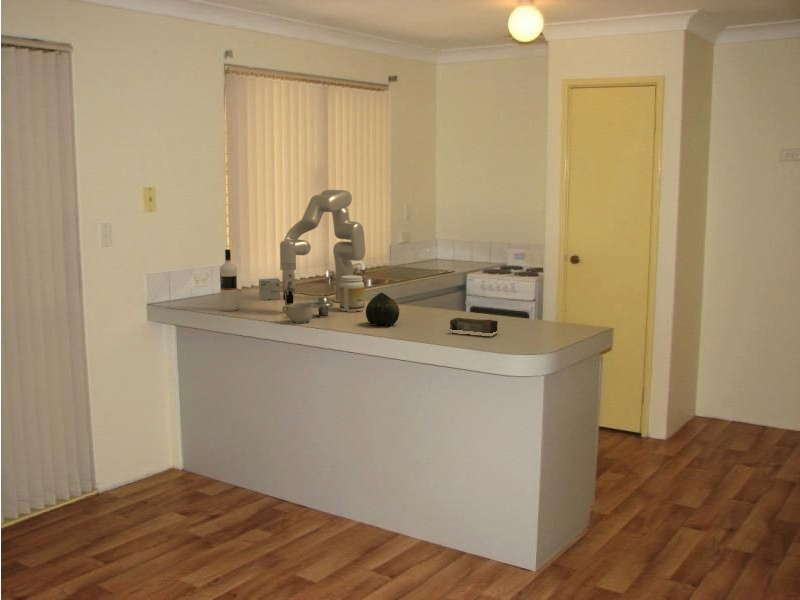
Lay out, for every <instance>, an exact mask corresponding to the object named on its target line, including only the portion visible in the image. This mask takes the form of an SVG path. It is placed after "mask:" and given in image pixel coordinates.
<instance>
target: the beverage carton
mask: <svg viewBox="0 0 800 600" xmlns="http://www.w3.org/2000/svg"><path fill="white" fill-rule="evenodd" d="M450 329H452V330H463V331H473V332H482V333H493V332H496V331H497V332H498V320H492V319H478V318H477V319H476V318H474V319H473V318H463V317H453V318H452V319H450V321H449V330H450Z"/></svg>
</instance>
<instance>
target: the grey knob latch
mask: <svg viewBox="0 0 800 600" xmlns="http://www.w3.org/2000/svg"><path fill="white" fill-rule="evenodd" d="M303 303H308V304H312V305H313V309H318V317H319V316H328V317H329V308H332V307H333V306H334V303H333V301H332V302H331V301H329V298H328V296H319V297H318V301H313V302H312V301H311V302H310V301H309V302H307V301H305V302H303Z"/></svg>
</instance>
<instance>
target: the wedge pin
mask: <svg viewBox="0 0 800 600" xmlns="http://www.w3.org/2000/svg"><path fill="white" fill-rule="evenodd" d="M295 290H296V289H295ZM295 290H294V289H293V294H295V293H296V291H295ZM283 293H285V301H284V306H285V305H288V306H289V305H291V304H294V302H293V303H287V291H286V290H285V289H283V288H282V294H283ZM285 311H286V312H287V313H288V314H290V313H289V309H288V308H287V307H285Z"/></svg>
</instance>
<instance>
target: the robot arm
mask: <svg viewBox="0 0 800 600" xmlns="http://www.w3.org/2000/svg"><path fill="white" fill-rule="evenodd" d="M352 200H353V196H352V194H351V192H350V191H348V190H345V189H327V190H326V189H325V190H323V191H322V192H321V193H320V194H315V195H313V196H312V197H311V198H310V200H309V202H308V204H307V207H306V209H305V211H304V212H303V213H304V214H303V216H302V218H301V219H300V220H299V221H298V222H296V223H295V224H294V225H293V226H292V227H291V228H290V229H289V230H288V231H287V233H286V235H285V238H284V240H282V241H280V243H279V257H280V258H279V259H280V260H279V267H280V270H281V271H282V275H281V276H282V279H281V280H282V290H283V289H285V290H286V291H287V303H293V304H294V293H293V289H294V290H296V273H295V271H297V256H306V255H308V254H309V253H310V252H311V248H312V247H311V243H310V242H309V241H308V240H305V239H299V238H301V237H302V235H304V234H306V233H307V232H310V231H312V230H315V229H316V228H318V227H319V223H320V222H321V219H322V217H323V215H324V213H331V215H332V221H333V233H334V236H335V237H336V239H339V240H340V241H338V242H336V243H335V244H334V245H333V249H332V250H333V257H334V264H335V265H334V266H335V269H334V270H335V271H334V273H335V274H334V275H335V277H334V279H335V280H334V281H335V297H334V298H332V302H335V303H339V304H340V283H341V282H342V280H341V277H342V276H349V275H354V265H353V263H352V261H356V262H358V261H362V260H363V259H364V257H365V256H366V242H365V231H364V227H363V226H362V224H361V223H360V222H358V221H352V220H351V219H350V212H349V209H348V207H349V206H350V205H351V203H352ZM341 240H343V241H341ZM344 240H345V241H344ZM347 240H349V241H347ZM282 294H283V299H282V300H283V301H284V302H285V293H283V292H282Z"/></svg>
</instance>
